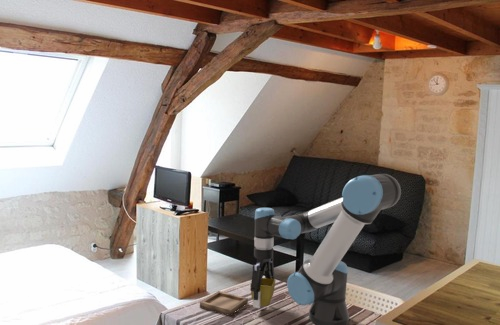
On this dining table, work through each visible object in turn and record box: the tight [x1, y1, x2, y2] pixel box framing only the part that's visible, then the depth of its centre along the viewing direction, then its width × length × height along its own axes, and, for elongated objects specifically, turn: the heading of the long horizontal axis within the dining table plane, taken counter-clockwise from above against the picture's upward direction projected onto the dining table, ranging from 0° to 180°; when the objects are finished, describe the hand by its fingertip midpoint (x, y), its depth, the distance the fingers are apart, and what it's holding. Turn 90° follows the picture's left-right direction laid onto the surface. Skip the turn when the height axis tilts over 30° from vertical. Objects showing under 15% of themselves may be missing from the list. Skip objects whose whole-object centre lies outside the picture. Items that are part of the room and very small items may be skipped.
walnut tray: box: [199, 290, 249, 316], centre depth 187 cm, size 14×14×2 cm
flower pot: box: [249, 277, 276, 307], centre depth 184 cm, size 9×9×9 cm
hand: (262, 303), depth 185 cm, fingers closed on flower pot, 9 cm apart
